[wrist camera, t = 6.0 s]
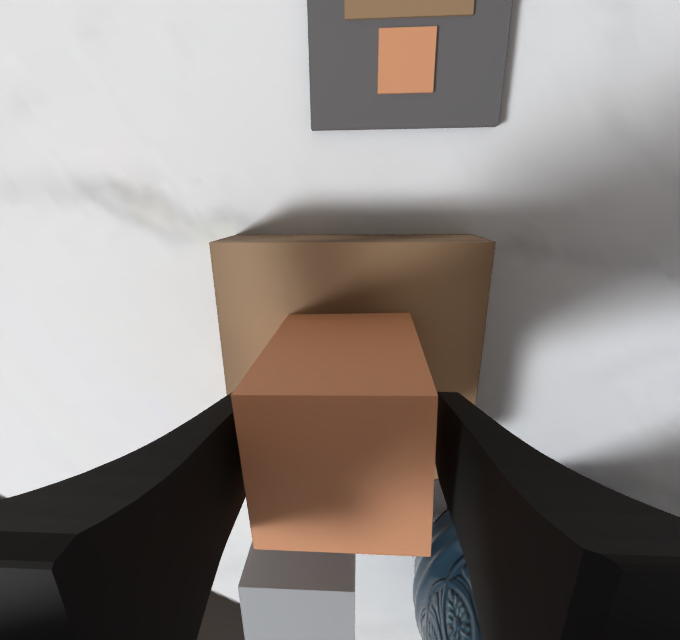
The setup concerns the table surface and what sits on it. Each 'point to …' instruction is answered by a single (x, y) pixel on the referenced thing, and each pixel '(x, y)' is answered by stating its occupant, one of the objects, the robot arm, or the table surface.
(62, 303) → the table surface
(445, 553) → the canister
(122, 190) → the table surface
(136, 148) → the table surface
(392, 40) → the card
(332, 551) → the rust block
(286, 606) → the grey block
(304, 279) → the walnut base
